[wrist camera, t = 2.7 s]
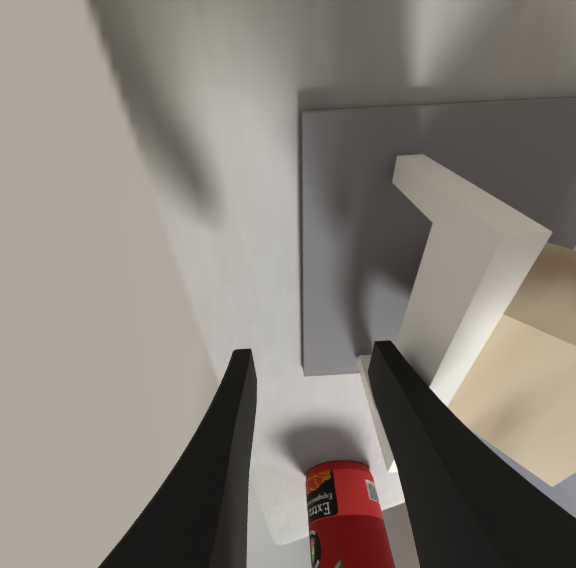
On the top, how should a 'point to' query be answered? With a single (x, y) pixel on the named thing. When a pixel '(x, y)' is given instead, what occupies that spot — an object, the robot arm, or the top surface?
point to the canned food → (345, 518)
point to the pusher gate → (456, 277)
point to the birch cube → (530, 373)
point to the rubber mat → (412, 205)
